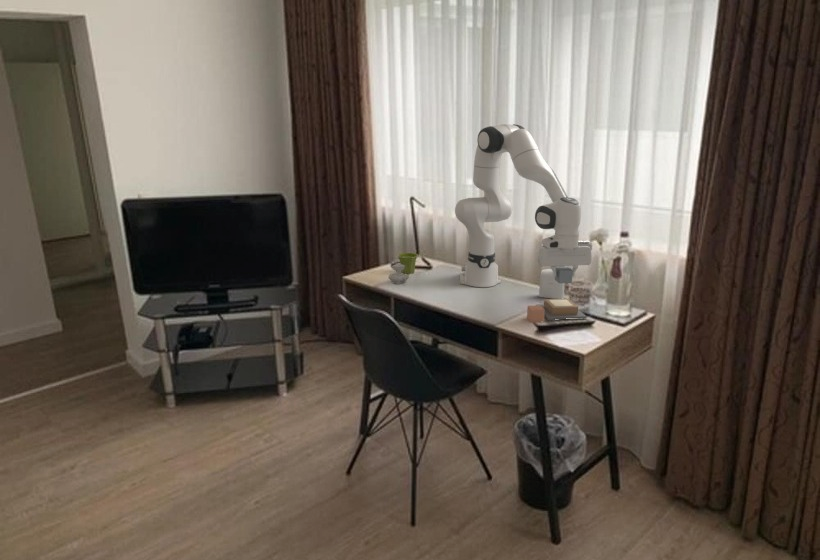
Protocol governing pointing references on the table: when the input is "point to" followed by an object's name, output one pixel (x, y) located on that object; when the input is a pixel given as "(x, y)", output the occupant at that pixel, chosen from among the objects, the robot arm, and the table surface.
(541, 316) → the terracotta cube
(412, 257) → the plant pot
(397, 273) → the stamp
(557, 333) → the table surface
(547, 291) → the photo printer
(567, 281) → the grey cube
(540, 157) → the robot arm
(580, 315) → the build plate
